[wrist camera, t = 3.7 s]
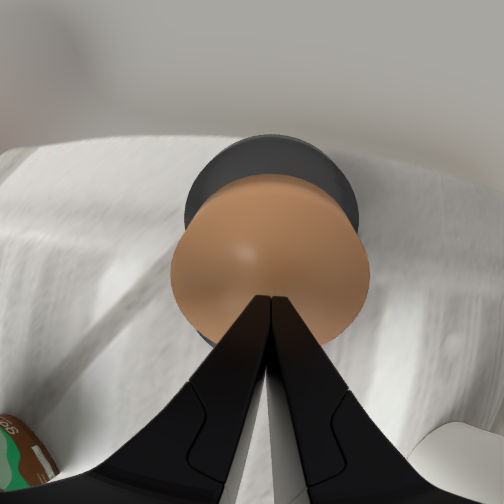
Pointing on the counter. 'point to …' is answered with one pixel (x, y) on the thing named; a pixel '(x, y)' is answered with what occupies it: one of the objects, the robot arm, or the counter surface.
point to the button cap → (270, 256)
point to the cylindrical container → (462, 462)
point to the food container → (22, 456)
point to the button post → (271, 162)
